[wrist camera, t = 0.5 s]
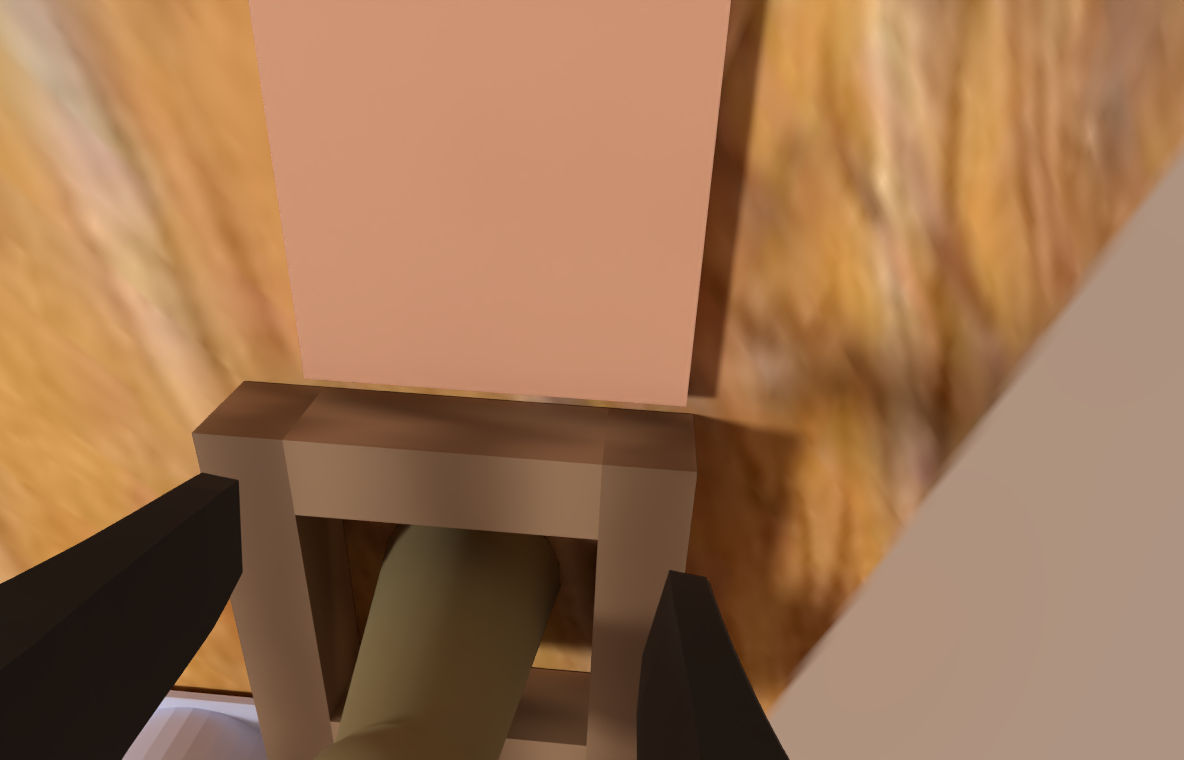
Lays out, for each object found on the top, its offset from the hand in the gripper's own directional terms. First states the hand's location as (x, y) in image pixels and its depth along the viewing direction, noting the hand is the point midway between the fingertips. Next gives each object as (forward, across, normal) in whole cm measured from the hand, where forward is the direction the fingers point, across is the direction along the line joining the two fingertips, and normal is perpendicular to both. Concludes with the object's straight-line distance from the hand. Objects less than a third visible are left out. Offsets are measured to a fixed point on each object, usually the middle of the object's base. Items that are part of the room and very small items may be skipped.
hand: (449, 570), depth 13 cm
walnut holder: (+10, +1, +10) cm, 14 cm away
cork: (+10, +1, +10) cm, 14 cm away
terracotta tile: (+10, +2, -3) cm, 11 cm away
